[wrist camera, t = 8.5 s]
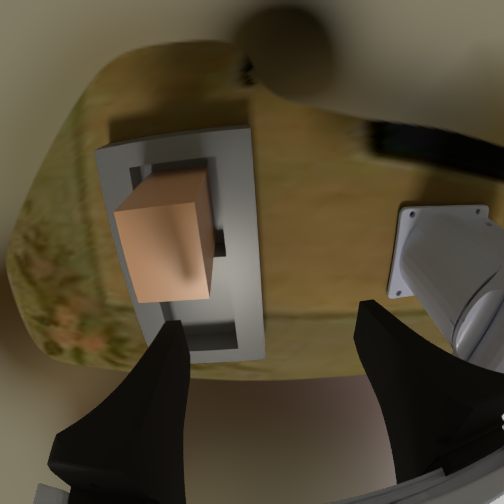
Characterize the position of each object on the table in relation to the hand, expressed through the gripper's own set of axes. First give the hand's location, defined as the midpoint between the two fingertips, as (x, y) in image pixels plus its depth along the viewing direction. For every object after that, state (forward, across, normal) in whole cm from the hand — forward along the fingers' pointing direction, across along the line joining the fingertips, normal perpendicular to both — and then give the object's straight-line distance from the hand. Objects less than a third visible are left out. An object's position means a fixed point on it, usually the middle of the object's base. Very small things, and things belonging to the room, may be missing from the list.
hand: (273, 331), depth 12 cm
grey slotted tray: (+10, +4, +2) cm, 11 cm away
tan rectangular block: (+10, +4, -2) cm, 11 cm away
